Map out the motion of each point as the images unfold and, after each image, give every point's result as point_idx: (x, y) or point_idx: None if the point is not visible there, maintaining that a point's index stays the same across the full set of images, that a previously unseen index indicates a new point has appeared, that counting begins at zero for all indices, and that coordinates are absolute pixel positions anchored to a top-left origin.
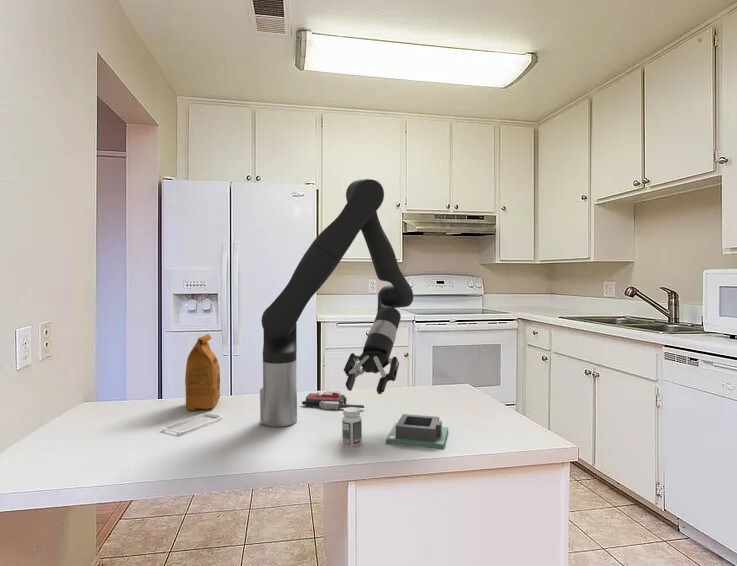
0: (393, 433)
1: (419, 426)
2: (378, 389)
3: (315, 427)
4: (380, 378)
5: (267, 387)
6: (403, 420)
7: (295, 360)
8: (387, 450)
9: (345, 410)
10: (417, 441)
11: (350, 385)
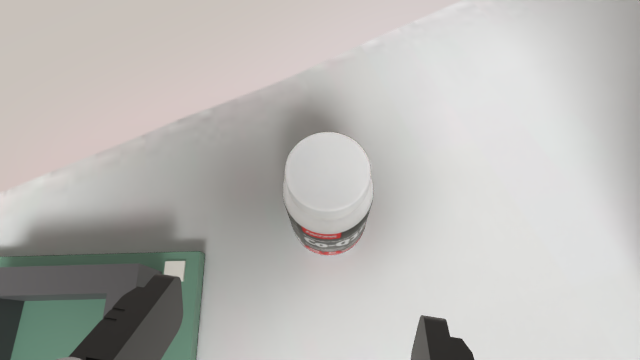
0: None
1: (29, 286)
2: (160, 274)
3: (558, 354)
4: (111, 351)
5: None
6: None
7: None
8: (190, 192)
9: (351, 143)
10: (75, 260)
11: (420, 349)
